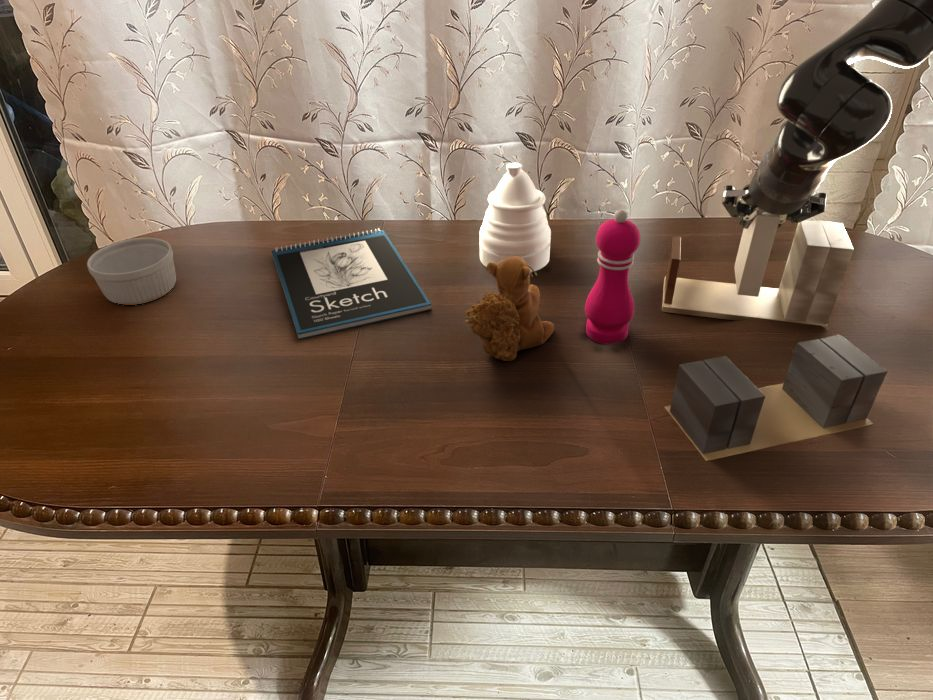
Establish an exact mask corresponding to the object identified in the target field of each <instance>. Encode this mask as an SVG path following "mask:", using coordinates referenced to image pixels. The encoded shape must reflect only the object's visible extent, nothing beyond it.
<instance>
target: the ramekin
mask: <svg viewBox="0 0 933 700" xmlns="http://www.w3.org/2000/svg"><path fill="white" fill-rule="evenodd" d="M86 266H87V270H88V273H89V275H91V276H92V277H93V279H94V280H95V282H96V284H97V286H98V287H99V289H100V291H101V293H102V294H103V296H104V297H105V298H106V299H107V300H108V301H110V302H111V303H114V304H116V303H118V304H117V305H119V304H139V303H143V302H147V301H151V300H154V299H156V298H159V297H160V296H163V295H164V294H166V293H167V292H169V291H170V290H171V289H172V288H174V286H175V285H176V283H177V274H176V273H177V272H176V267H175V263H174V251H173V249H172V246H171V244H170V243H169V242H168V241H166V240H164V239H161V238H158V237H135V238H134V237H133V238H128V239H124V240H121V241H120V240H119V241H116V242H112V243H110V244H108V245H106V246H104V247H102V248H100V249H98V250H97V251H95V252H94V253H92V254H91V255H90V257H88V259H87V261H86ZM172 290H173V289H172ZM172 290H171V291H172ZM171 291H170V292H171ZM170 292H169V293H170Z"/></svg>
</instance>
